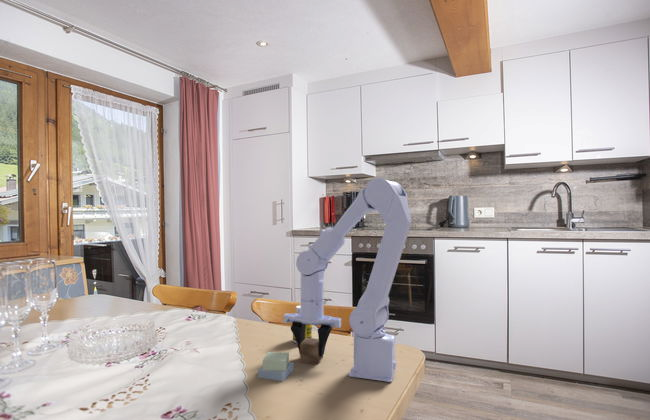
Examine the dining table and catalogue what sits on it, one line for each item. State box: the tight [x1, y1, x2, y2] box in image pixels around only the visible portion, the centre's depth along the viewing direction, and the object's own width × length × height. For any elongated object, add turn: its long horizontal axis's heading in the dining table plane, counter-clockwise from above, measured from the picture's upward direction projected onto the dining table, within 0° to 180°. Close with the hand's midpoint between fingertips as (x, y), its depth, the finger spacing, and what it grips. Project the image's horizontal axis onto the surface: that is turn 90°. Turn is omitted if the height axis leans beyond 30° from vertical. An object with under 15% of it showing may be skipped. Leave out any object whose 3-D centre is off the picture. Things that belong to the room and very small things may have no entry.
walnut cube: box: [299, 337, 324, 365], centre depth 92 cm, size 4×4×4 cm
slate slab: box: [257, 361, 295, 382], centre depth 84 cm, size 6×6×2 cm
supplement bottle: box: [292, 304, 313, 344], centre depth 105 cm, size 5×5×10 cm
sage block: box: [262, 351, 290, 371], centre depth 84 cm, size 5×5×2 cm
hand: (311, 353), depth 92 cm, fingers closed on walnut cube, 4 cm apart
